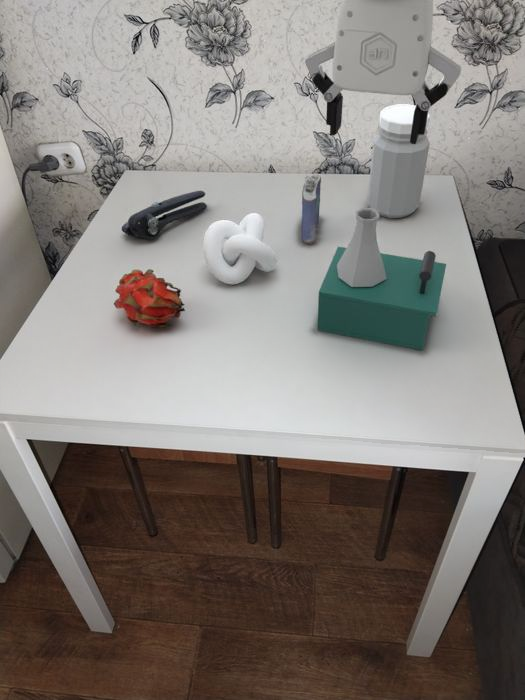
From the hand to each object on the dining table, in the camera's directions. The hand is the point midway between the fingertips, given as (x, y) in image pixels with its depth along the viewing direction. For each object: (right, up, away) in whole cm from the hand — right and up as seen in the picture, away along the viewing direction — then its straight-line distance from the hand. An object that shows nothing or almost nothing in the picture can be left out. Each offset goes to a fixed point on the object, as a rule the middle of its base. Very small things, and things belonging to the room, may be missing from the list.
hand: (374, 134), depth 72 cm
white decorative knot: (-16, -13, +28) cm, 35 cm away
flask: (+1, -15, +15) cm, 21 cm away
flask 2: (-5, -4, +37) cm, 37 cm away
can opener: (-31, -3, +40) cm, 51 cm away
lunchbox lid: (+4, -16, +14) cm, 22 cm away
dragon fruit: (-31, -21, +21) cm, 43 cm away
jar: (+11, +1, +41) cm, 43 cm away
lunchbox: (+4, -21, +19) cm, 28 cm away
